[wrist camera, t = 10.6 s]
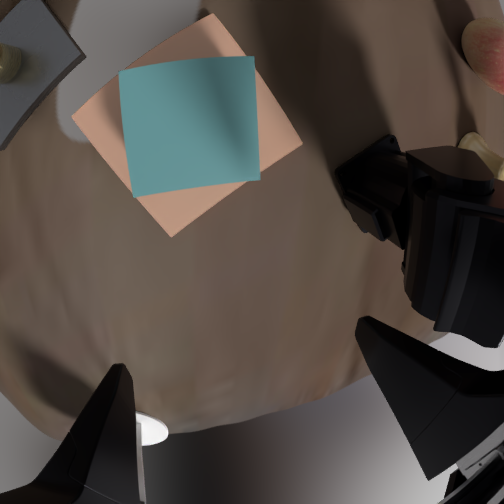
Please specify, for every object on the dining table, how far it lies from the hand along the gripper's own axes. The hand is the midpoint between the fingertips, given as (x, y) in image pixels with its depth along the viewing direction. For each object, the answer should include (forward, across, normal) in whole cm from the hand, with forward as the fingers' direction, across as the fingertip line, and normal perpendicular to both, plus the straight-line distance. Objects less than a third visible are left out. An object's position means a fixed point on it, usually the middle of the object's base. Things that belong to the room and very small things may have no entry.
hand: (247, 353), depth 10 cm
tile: (+12, +1, -8) cm, 14 cm away
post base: (+12, +14, -15) cm, 24 cm away
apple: (+12, -29, -18) cm, 36 cm away
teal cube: (+11, +1, -8) cm, 14 cm away
